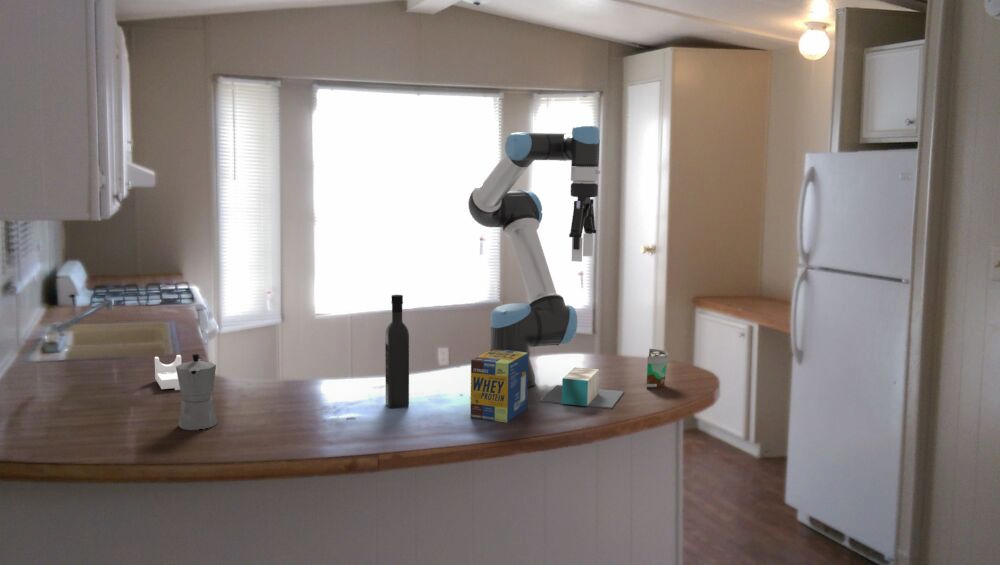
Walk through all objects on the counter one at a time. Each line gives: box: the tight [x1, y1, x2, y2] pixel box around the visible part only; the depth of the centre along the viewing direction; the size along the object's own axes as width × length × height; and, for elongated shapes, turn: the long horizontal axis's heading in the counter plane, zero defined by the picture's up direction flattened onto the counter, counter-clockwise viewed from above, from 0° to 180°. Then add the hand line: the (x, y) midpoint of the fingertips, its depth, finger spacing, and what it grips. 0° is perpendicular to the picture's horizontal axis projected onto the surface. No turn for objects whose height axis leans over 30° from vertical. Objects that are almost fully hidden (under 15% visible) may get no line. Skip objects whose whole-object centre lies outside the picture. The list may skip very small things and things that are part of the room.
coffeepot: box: [176, 353, 218, 431], centre depth 228 cm, size 15×9×18 cm, turn 13°
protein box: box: [470, 348, 528, 424], centre depth 242 cm, size 10×15×16 cm
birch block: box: [561, 367, 600, 407], centre depth 256 cm, size 7×7×14 cm
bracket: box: [154, 354, 183, 391], centre depth 266 cm, size 13×7×8 cm, turn 28°
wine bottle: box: [384, 294, 410, 409], centre depth 246 cm, size 6×6×30 cm
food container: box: [646, 348, 670, 390], centre depth 273 cm, size 12×6×10 cm, turn 168°
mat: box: [539, 384, 625, 410], centre depth 260 cm, size 20×18×1 cm
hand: (582, 258), depth 258 cm, fingers open, 13 cm apart
